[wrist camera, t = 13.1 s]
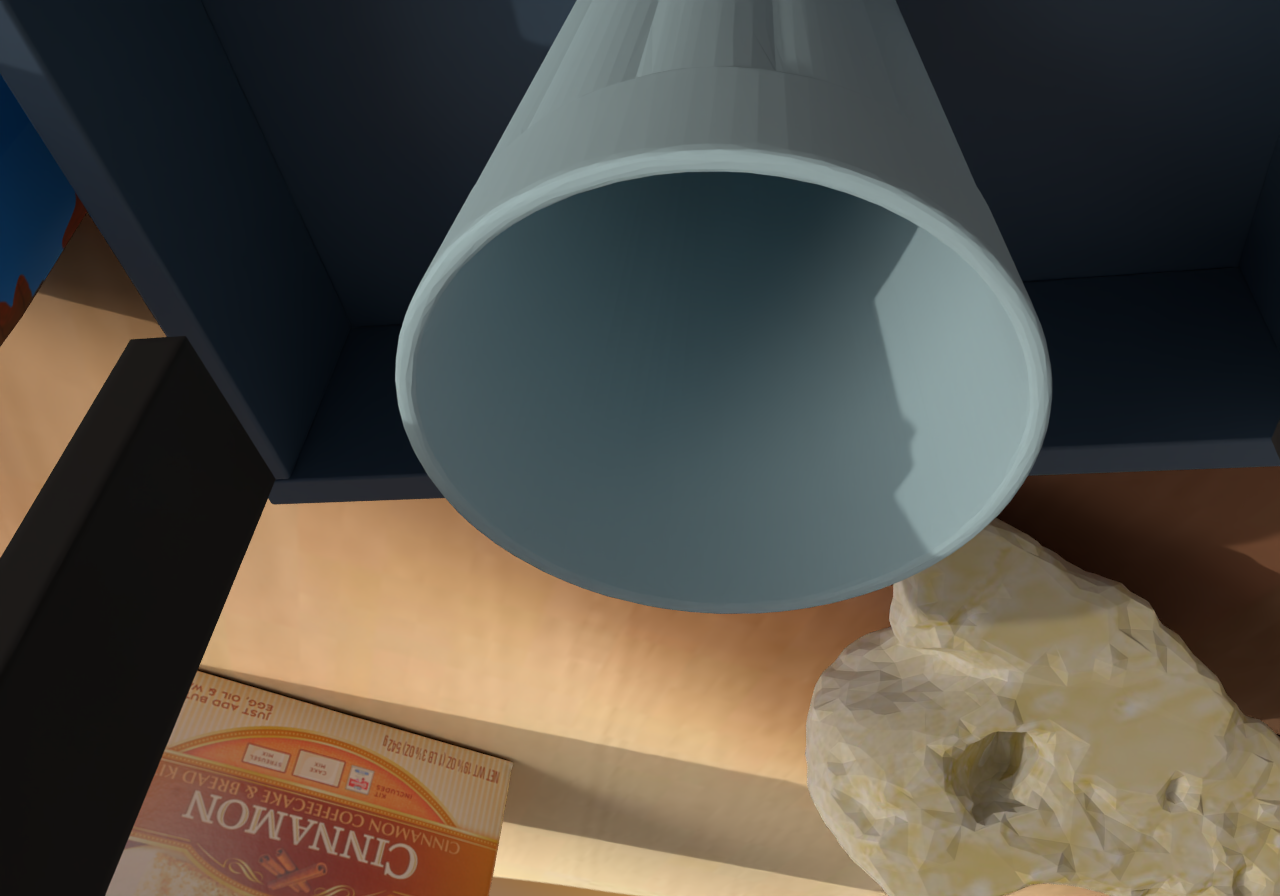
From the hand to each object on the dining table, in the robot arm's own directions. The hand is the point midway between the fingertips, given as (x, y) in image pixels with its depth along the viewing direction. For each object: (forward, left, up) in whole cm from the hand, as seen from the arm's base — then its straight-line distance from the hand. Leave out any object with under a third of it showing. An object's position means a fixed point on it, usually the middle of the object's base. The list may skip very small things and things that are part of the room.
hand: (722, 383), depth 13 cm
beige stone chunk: (+20, +9, -11) cm, 25 cm away
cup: (0, 0, -10) cm, 10 cm away
